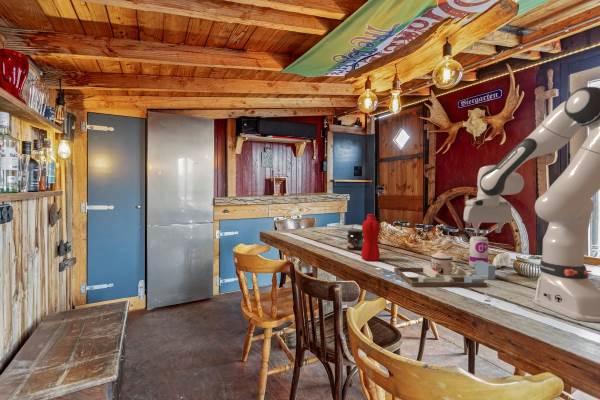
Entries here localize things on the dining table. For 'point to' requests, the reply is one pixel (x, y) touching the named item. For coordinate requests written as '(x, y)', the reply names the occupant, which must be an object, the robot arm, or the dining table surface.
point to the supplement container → (355, 240)
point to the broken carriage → (450, 279)
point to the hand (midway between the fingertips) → (487, 232)
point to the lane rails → (414, 283)
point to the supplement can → (478, 250)
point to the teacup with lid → (442, 263)
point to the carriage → (468, 271)
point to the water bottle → (370, 239)
